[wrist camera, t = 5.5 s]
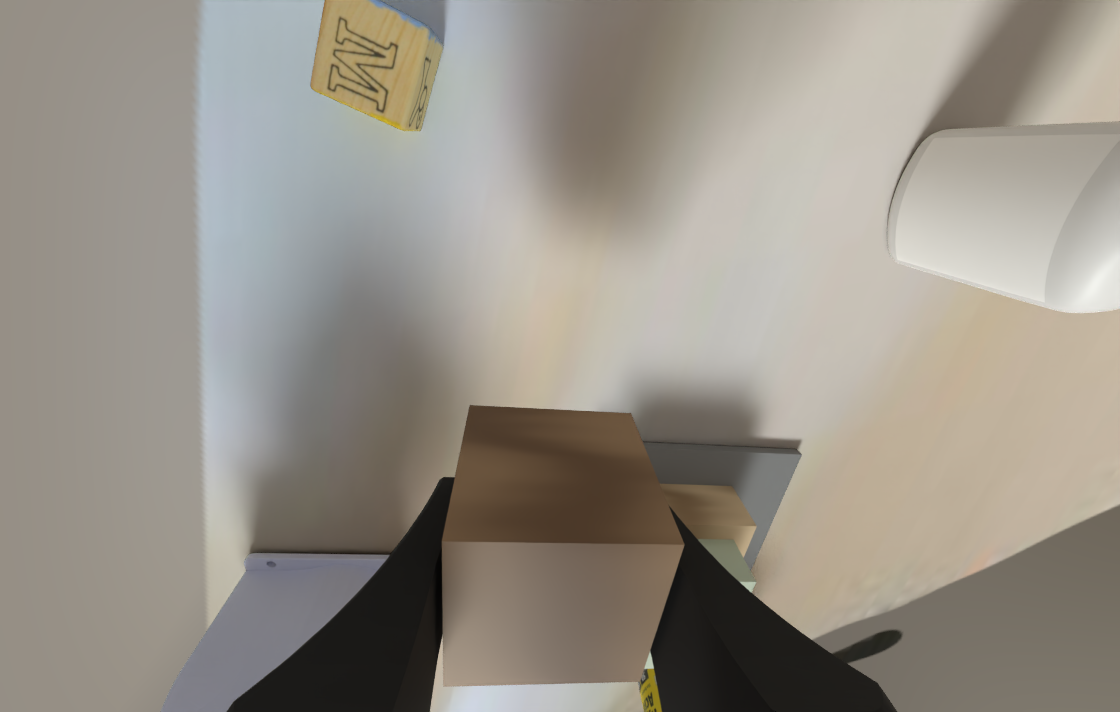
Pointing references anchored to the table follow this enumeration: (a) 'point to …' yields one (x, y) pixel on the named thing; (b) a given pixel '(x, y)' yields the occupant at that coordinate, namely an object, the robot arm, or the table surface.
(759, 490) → the mat
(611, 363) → the table surface
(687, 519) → the tower base
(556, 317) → the table surface
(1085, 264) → the eye dropper bottle
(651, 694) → the supplement bottle
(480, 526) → the walnut cube
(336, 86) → the alphabet block
